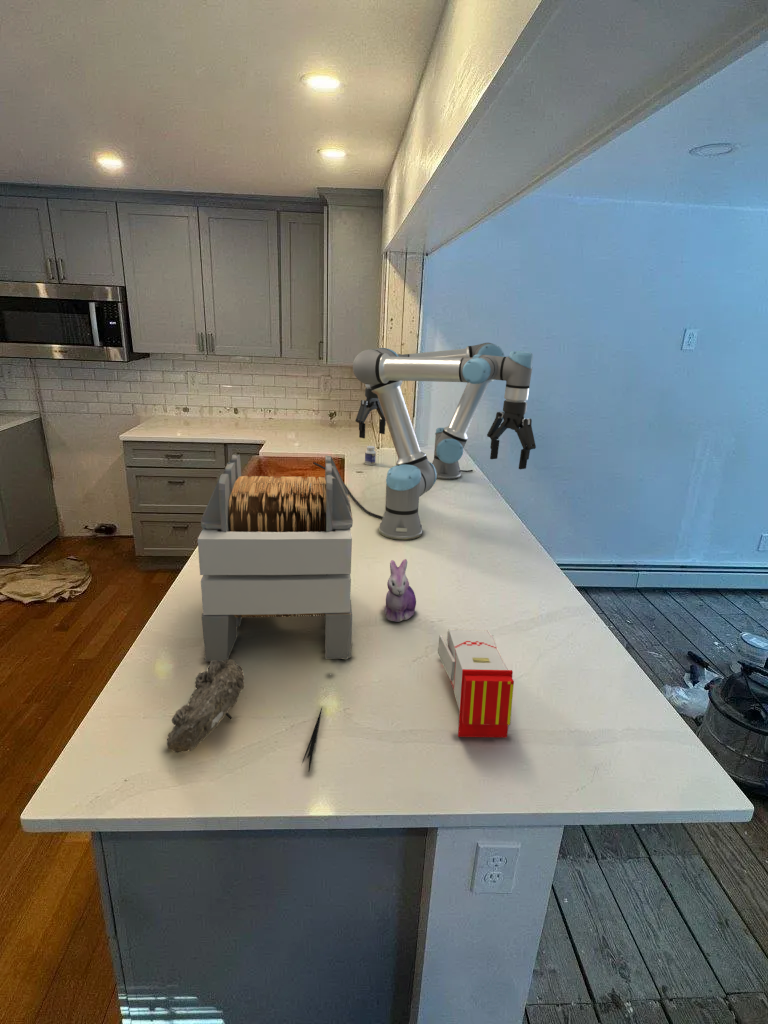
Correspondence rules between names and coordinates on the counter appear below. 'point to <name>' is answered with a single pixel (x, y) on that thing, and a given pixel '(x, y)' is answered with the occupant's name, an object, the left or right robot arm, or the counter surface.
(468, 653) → the toy
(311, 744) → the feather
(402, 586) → the figurine
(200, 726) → the fossil
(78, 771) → the counter surface
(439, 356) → the right robot arm
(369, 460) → the pill bottle
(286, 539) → the record crate
